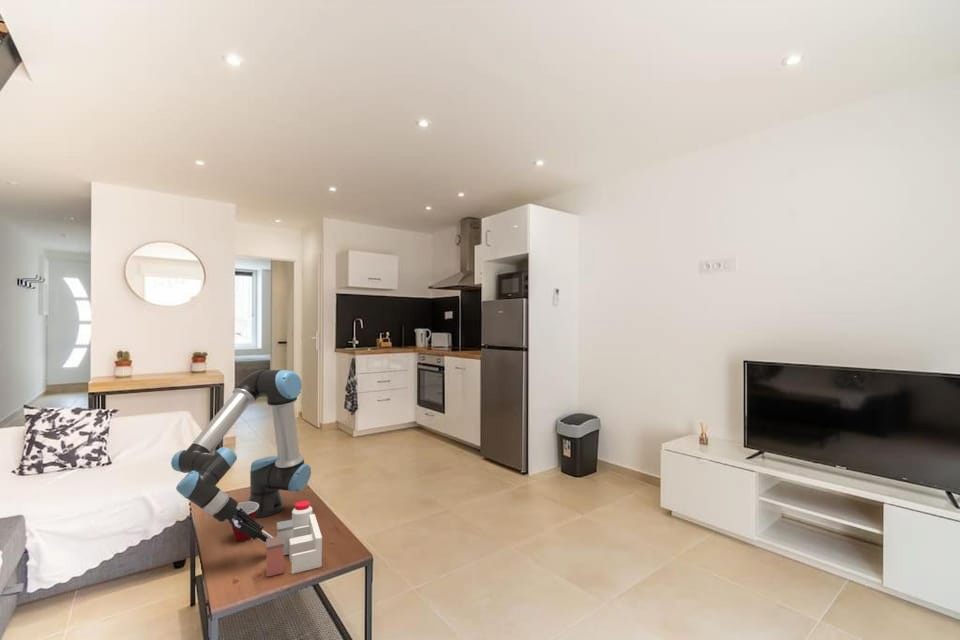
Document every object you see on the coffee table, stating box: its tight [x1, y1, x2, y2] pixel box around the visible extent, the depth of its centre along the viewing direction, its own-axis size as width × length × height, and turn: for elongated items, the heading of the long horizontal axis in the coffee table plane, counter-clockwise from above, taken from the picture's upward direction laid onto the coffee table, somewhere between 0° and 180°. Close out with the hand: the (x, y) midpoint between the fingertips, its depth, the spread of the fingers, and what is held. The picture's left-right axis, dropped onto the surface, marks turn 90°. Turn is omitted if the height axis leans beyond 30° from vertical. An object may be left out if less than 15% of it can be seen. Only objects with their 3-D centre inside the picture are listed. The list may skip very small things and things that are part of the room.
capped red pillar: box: [265, 536, 285, 578], centre depth 146 cm, size 6×5×10 cm
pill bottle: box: [291, 500, 313, 528], centre depth 174 cm, size 8×8×11 cm
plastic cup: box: [231, 501, 259, 542], centre depth 168 cm, size 11×11×12 cm
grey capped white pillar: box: [276, 519, 293, 556], centre depth 158 cm, size 6×5×10 cm
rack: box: [288, 513, 323, 575], centre depth 155 cm, size 21×10×10 cm, turn 28°
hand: (273, 543), depth 156 cm, fingers closed
